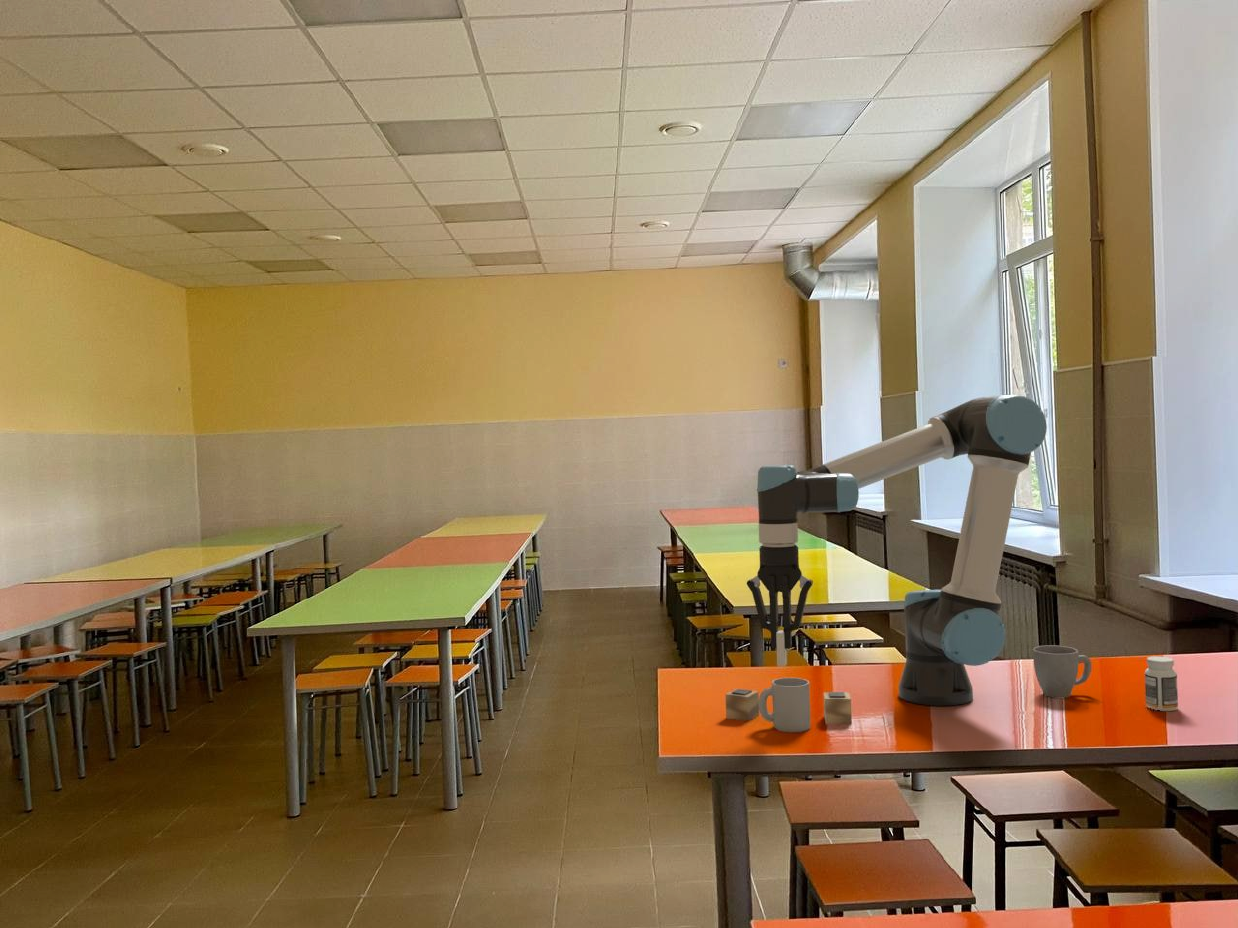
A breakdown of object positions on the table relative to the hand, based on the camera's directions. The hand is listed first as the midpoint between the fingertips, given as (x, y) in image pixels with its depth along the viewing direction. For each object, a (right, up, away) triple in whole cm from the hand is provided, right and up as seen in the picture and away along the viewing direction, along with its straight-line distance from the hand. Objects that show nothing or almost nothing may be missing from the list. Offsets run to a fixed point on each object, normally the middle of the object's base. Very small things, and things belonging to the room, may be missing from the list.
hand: (782, 664), depth 193 cm
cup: (+1, -13, 0) cm, 13 cm away
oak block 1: (-7, -13, +9) cm, 17 cm away
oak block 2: (+12, -12, +4) cm, 17 cm away
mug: (+63, -10, +17) cm, 66 cm away
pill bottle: (+76, -10, +4) cm, 77 cm away
